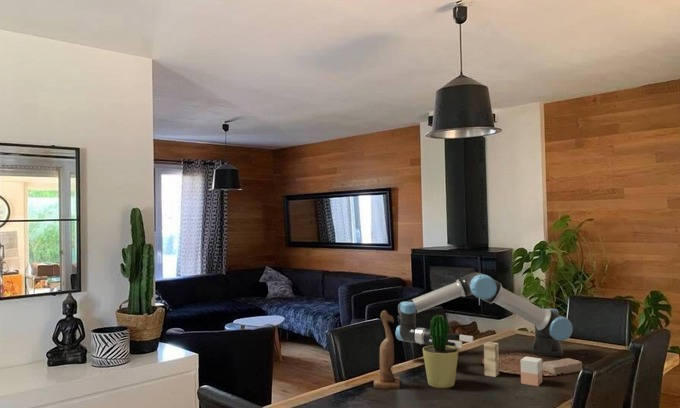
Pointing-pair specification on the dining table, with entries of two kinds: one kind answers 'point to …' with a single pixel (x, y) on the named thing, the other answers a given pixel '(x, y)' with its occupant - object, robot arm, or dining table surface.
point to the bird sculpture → (386, 358)
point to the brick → (562, 366)
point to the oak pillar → (491, 359)
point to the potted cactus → (440, 356)
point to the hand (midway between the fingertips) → (467, 342)
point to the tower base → (531, 378)
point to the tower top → (531, 365)
